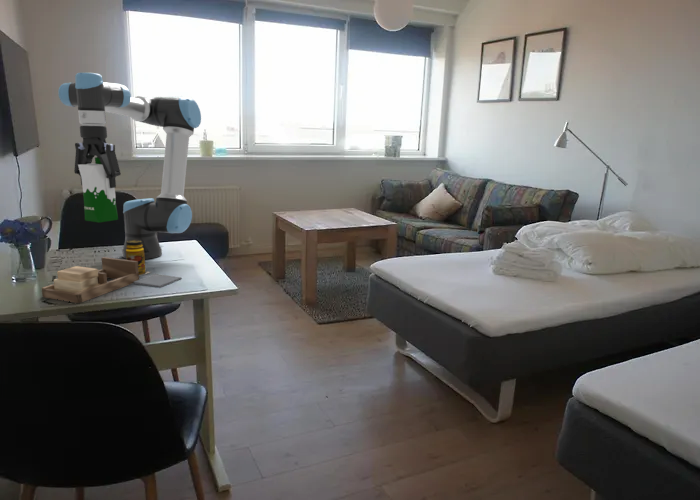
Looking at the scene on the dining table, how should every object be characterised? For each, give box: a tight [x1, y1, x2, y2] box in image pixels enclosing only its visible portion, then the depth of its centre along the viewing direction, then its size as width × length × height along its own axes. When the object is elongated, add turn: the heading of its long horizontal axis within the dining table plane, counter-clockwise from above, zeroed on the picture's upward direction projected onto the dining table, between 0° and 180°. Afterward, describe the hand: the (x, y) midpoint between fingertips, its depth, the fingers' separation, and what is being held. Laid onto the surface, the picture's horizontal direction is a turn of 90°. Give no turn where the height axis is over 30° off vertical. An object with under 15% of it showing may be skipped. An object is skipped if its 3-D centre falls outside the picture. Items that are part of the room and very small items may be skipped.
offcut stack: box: [53, 265, 100, 293], centre depth 159 cm, size 8×10×8 cm
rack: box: [41, 256, 140, 304], centre depth 165 cm, size 25×14×7 cm, turn 161°
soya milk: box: [78, 156, 119, 224], centre depth 164 cm, size 9×9×20 cm
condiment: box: [125, 240, 152, 277], centre depth 183 cm, size 7×8×12 cm
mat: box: [133, 273, 182, 288], centre depth 175 cm, size 11×11×1 cm
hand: (99, 197), depth 164 cm, fingers closed on soya milk, 9 cm apart
